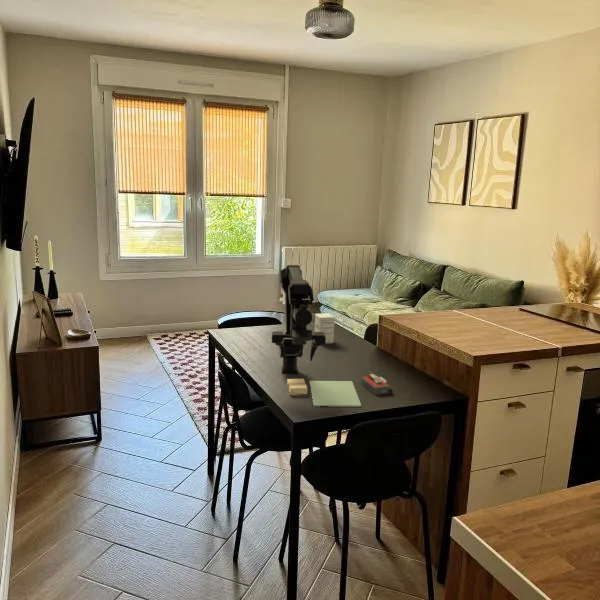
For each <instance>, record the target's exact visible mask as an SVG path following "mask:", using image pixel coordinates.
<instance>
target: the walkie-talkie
mask: <svg viewBox="0 0 600 600" xmlns="http://www.w3.org/2000/svg"><path fill="white" fill-rule="evenodd" d="M360 380H361V384H360V385H361V386H363V387H364V388H366V390H368V391H369V392H371V394H373V395H375V396H378V395H387V394H391V393H393V392H394V390H393V389H392V388H391V385H389V384H388V383H387V380H386V379H385V378H383V377H382V376H378V375H376V374H374V373H373V372H371V371H368V374H367V376H363V377H361V379H360Z"/></svg>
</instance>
